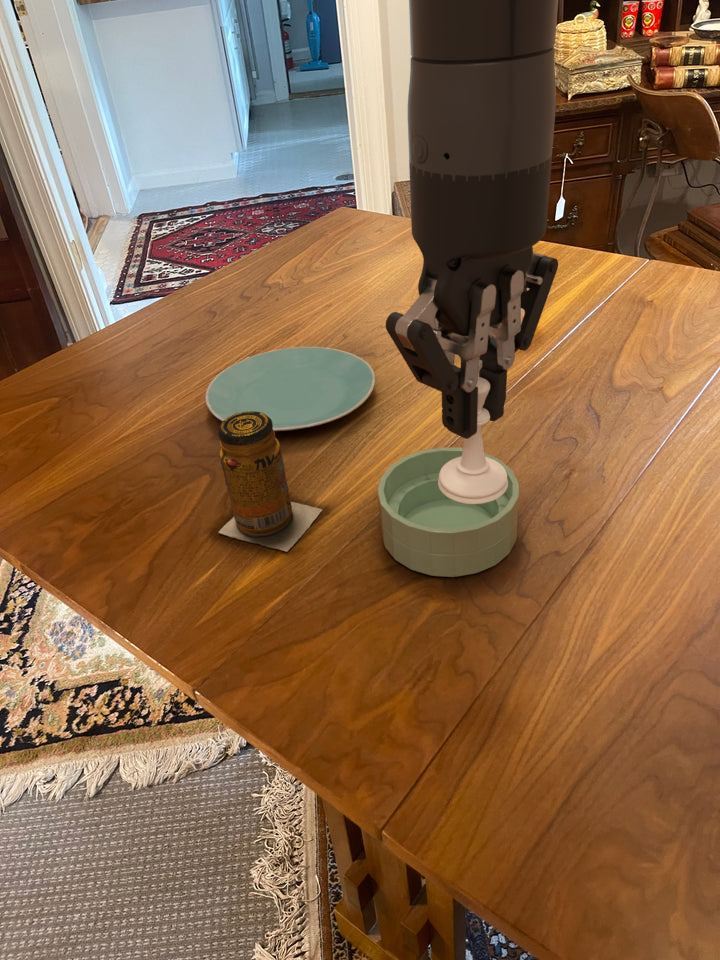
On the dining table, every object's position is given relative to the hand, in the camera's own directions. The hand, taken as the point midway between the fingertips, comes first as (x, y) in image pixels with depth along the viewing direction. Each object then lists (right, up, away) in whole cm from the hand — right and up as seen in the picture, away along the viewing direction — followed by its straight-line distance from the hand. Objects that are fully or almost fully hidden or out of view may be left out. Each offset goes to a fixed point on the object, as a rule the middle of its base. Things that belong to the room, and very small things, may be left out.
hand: (474, 422), depth 49 cm
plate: (-17, +6, +48) cm, 51 cm away
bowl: (+1, -9, +24) cm, 25 cm away
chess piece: (0, -4, +3) cm, 5 cm away
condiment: (-17, -8, +28) cm, 34 cm away
